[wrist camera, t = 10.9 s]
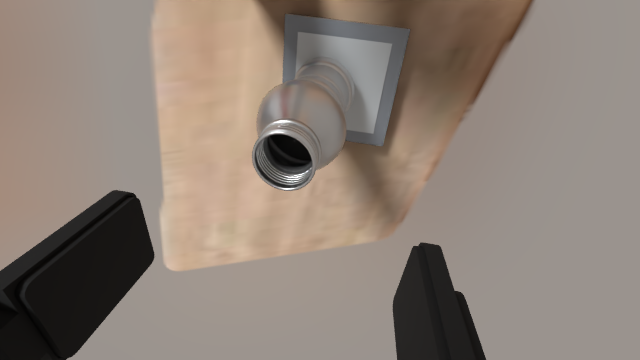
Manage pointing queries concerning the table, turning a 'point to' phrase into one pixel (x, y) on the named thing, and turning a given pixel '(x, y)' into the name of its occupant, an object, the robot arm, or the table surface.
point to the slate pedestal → (352, 66)
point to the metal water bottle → (303, 124)
